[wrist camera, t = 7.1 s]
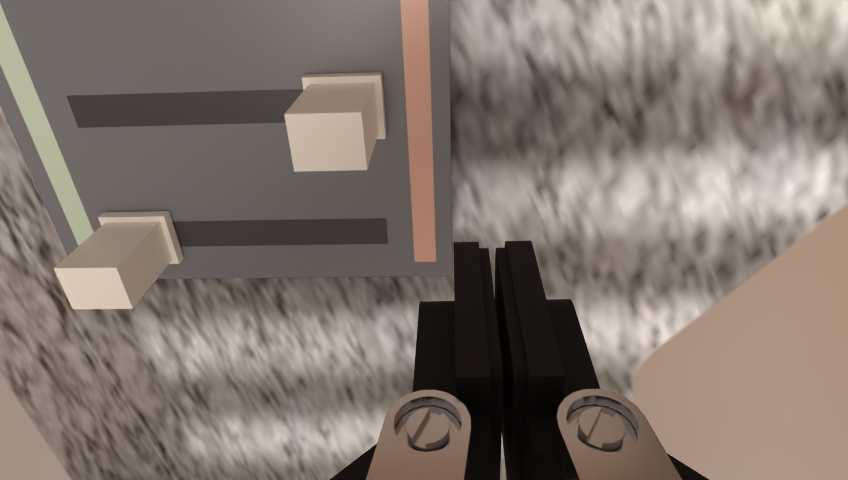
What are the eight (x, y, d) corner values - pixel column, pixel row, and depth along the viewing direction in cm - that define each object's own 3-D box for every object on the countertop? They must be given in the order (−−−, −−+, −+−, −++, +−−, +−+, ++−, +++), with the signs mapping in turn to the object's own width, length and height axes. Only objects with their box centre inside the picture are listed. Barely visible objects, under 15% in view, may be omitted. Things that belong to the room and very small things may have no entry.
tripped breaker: (386, 134, 26) (374, 176, 22) (313, 136, 26) (288, 178, 22) (381, 72, 25) (368, 104, 20) (304, 74, 25) (275, 107, 21)
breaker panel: (451, 256, 32) (452, 276, 30) (97, 261, 33) (78, 280, 32) (446, -154, 22) (447, -161, 20) (-66, -129, 23) (-107, -133, 21)
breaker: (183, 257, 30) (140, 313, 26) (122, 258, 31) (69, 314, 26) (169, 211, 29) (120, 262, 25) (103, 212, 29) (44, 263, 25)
